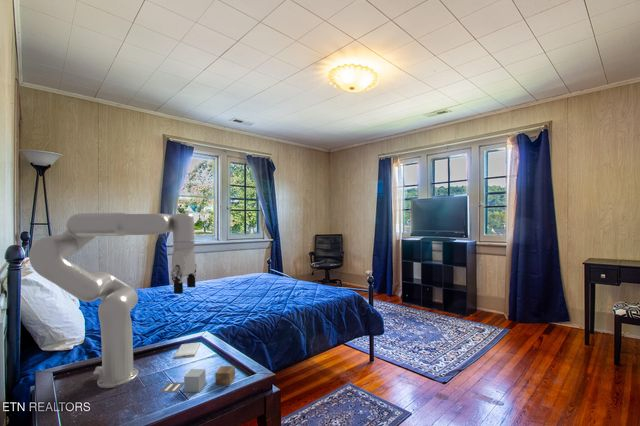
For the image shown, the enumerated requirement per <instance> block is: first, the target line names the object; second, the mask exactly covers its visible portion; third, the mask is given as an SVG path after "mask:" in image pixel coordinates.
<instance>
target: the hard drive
mask: <svg viewBox="0 0 640 426" xmlns="http://www.w3.org/2000/svg"><path fill="white" fill-rule="evenodd" d="M200 347H201V343H200V342H192V343H191V342H190V343H183V344H180V346H179V348H178V349H177V351H176V352H175V355H174V356H173V359H182V358H192V357H193V358H194V357H196V355H197V353H198V350H199V348H200Z"/></svg>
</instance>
